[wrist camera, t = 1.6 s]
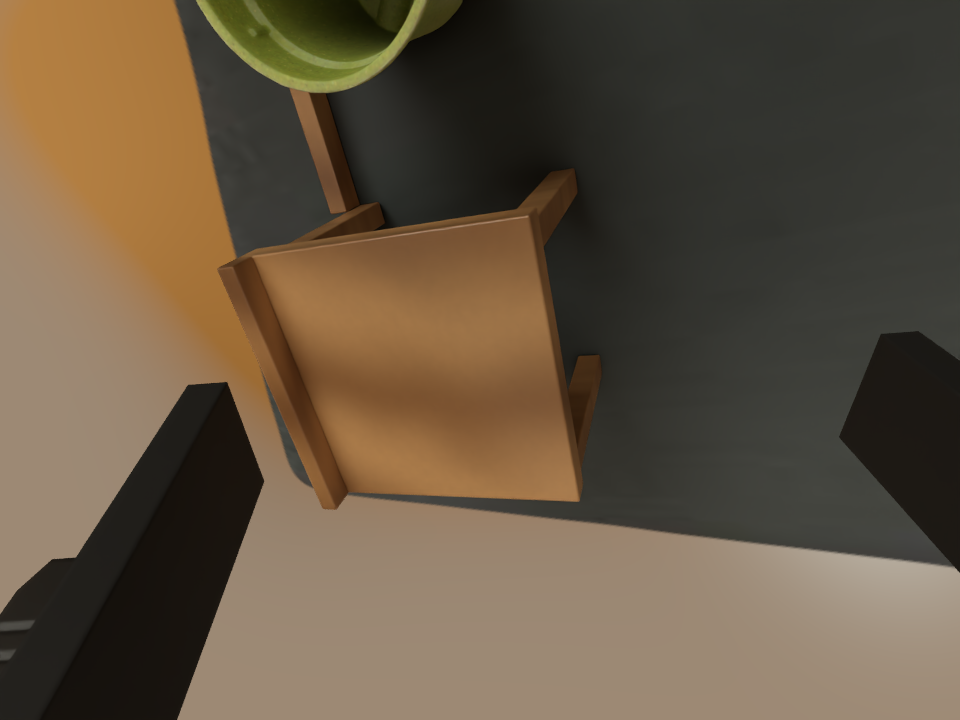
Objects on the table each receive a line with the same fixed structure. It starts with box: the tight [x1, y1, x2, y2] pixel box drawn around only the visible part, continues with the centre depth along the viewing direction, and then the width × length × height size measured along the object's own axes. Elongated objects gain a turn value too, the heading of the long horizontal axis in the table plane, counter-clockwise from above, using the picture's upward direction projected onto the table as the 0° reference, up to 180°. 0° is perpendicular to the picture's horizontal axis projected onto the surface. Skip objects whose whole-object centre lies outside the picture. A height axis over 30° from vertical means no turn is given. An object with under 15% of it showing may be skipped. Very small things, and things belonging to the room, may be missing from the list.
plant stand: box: [218, 88, 602, 510], centre depth 22 cm, size 30×13×11 cm, turn 12°
